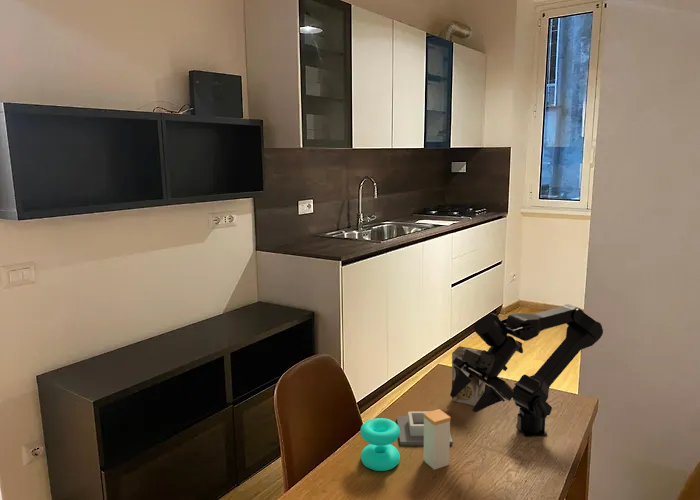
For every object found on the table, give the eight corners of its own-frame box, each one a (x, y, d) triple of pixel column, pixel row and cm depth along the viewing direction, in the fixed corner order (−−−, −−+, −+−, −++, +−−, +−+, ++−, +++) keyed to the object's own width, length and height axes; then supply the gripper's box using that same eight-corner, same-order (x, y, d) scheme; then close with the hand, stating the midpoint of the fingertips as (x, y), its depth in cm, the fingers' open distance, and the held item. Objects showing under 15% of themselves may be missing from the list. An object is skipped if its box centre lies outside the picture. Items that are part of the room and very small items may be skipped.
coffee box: (485, 399, 171) (487, 350, 168) (478, 407, 166) (480, 357, 163) (458, 392, 176) (459, 345, 173) (450, 400, 171) (451, 352, 167)
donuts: (352, 427, 136) (376, 412, 144) (352, 463, 138) (376, 446, 146) (384, 440, 130) (407, 424, 138) (384, 478, 132) (407, 459, 140)
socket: (444, 418, 159) (444, 406, 159) (452, 445, 146) (452, 431, 145) (396, 419, 160) (396, 406, 159) (400, 445, 146) (400, 431, 145)
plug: (438, 455, 141) (439, 409, 139) (449, 464, 137) (450, 417, 135) (422, 460, 139) (423, 413, 137) (434, 470, 135) (434, 421, 132)
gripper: (459, 327, 147) (423, 373, 144) (507, 350, 130) (468, 403, 127) (480, 350, 151) (447, 395, 149) (530, 375, 135) (493, 426, 132)
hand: (462, 403), depth 139 cm, fingers open, 9 cm apart
